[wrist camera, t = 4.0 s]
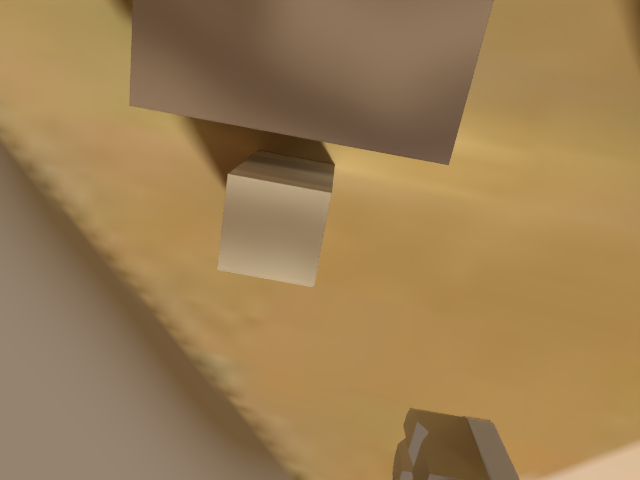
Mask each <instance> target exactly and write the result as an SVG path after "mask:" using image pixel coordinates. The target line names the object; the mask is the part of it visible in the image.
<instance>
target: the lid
mask: <svg viewBox="0 0 640 480" xmlns="http://www.w3.org/2000/svg"><path fill="white" fill-rule="evenodd" d="M493 1H494V0H133V17H132V46H131V76H130V105H129V106H134V107H139V108H145V109H150V110H155V111H161V112H166V113H171V114H177V115H182V116H188V117H193V118H198V119H204V120H209V121H214V122H220V123H225V124H231V125H236V126H241V127H247V128H252V129H257V130H263V131H268V132H274V133H279V134H284V135H290V136H295V137H300V138H306V139H311V140H317V141H322V142H327V143H333V144H338V145H343V146H349V147H354V148H360V149H365V150H370V151H376V152H381V153H386V154H392V155H397V156H403V157H408V158H413V159H419V160H424V161H429V162H435V163H440V164H446V165H449V162H450V158H451V155H452V151H453V147H454V144H455V140H456V136H457V133H458V129H459V125H460V122H461V118H462V114H463V111H464V107H465V103H466V100H467V96H468V92H469V89H470V85H471V81H472V78H473V74H474V70H475V67H476V63H477V59H478V56H479V52H480V48H481V45H482V41H483V37H484V34H485V30H486V26H487V23H488V19H489V15H490V12H491V8H492V4H493Z"/></svg>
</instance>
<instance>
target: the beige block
mask: <svg viewBox="0 0 640 480" xmlns="http://www.w3.org/2000/svg"><path fill="white" fill-rule="evenodd" d="M334 167H335V165H334V164H329V163H323V162H318V161H312V160H307V159H302V158H296V157H291V156H285V155H280V154H275V153H269V152H264V151H259V150H258V151H257V152H256V153H254V154H253V155H252V156H251V157H249V158H248V159H247V160H245V161H244V162H243V163H241V164H240V165H239V166H237V167H236V168H235V169H233V170H232V171H231V172H230V173H228V176H227V185H226V194H225V204H224V213H223V222H222V231H221V240H220V249H219V259H218V268H217V270H222V271H227V272H233V273H238V274H244V275H249V276H255V277H260V278H266V279H271V280H277V281H282V282H288V283H293V284H299V285H304V286H310V287H314V283H315V278H316V273H317V268H318V262H319V257H320V252H321V246H322V241H323V236H324V231H325V225H326V220H327V215H328V210H329V204H330V199H331V194H332V185H333V176H334Z"/></svg>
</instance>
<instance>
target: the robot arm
mask: <svg viewBox="0 0 640 480" xmlns="http://www.w3.org/2000/svg"><path fill="white" fill-rule="evenodd" d="M404 430H405V436H406V438H405V439H404V440H402V441H401V442H400V443H398V446H397V450H396V454H395V458H394V465H393V480H520V479H519V477H518V475H517V473H516V471H515V468H514V466H513V464H512V462H511V460H510V458H509V456H508V453H507V451H506V449H505V447H504V445H503V443H502V440H501V438H500V436H499V434H498V432H497V430H496V428H495V425H494V424H493V423H492V422H491V421H490V420H486V419H480V418H473V417H466V416H463V417H460V416H454V415H449V414H443V413H437V412H431V411H426V410H420V409H414V408H410V410H409V411H408V413H407V415H406V419H405V422H404Z"/></svg>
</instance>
